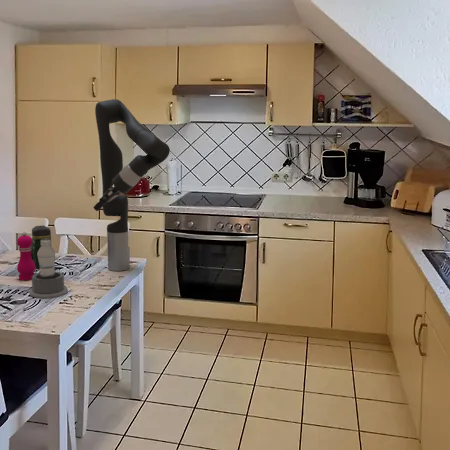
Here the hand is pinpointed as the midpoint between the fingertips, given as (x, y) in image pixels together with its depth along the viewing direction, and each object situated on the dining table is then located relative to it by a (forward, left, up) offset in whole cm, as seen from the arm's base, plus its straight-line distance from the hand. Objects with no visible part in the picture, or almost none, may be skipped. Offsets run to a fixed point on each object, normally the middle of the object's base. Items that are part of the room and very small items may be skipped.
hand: (98, 207), depth 212 cm
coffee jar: (-13, -43, -33) cm, 56 cm away
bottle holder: (+14, -15, -33) cm, 38 cm away
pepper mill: (+4, -36, -33) cm, 49 cm away
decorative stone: (-21, -56, -33) cm, 68 cm away
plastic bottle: (+14, -14, -32) cm, 38 cm away
